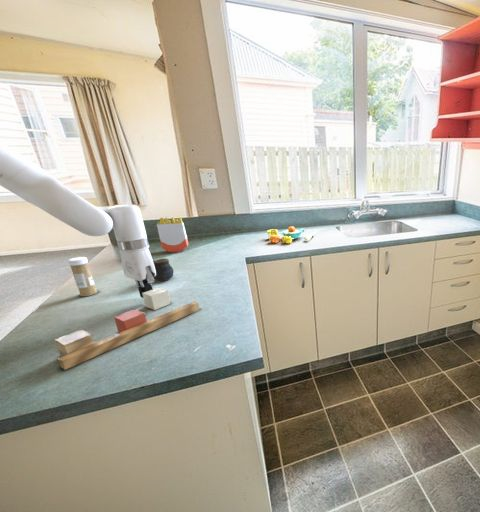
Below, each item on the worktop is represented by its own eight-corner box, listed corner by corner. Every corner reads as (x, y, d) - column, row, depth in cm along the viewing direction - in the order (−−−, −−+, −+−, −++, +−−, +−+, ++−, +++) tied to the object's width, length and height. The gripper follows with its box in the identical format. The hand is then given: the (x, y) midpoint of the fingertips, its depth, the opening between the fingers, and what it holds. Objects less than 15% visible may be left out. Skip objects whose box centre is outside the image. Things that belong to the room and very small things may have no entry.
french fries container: (165, 250, 155) (157, 216, 150) (189, 248, 159) (182, 215, 154) (163, 253, 151) (155, 218, 146) (188, 250, 155) (181, 217, 150)
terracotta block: (128, 337, 80) (123, 321, 79) (118, 332, 82) (113, 317, 81) (148, 328, 85) (144, 313, 83) (139, 324, 87) (134, 309, 85)
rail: (65, 369, 68) (61, 360, 67) (61, 367, 69) (57, 358, 68) (199, 309, 95) (198, 302, 95) (195, 308, 96) (194, 301, 95)
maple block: (70, 363, 70) (63, 345, 68) (61, 357, 72) (54, 339, 71) (97, 351, 74) (91, 334, 73) (87, 346, 76) (81, 329, 75)
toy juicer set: (266, 245, 166) (265, 232, 164) (268, 237, 183) (267, 225, 180) (318, 242, 175) (317, 229, 172) (315, 235, 191) (314, 223, 189)
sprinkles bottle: (100, 292, 107) (89, 257, 103) (85, 297, 103) (73, 261, 98) (91, 290, 108) (80, 255, 104) (76, 295, 104) (64, 259, 100)
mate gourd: (174, 280, 118) (169, 256, 115) (150, 284, 114) (144, 259, 111) (175, 274, 124) (170, 251, 121) (153, 277, 120) (147, 254, 117)
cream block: (154, 310, 95) (151, 296, 93) (145, 306, 97) (142, 293, 95) (171, 303, 99) (167, 290, 98) (162, 300, 101) (158, 287, 100)
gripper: (106, 244, 94) (122, 296, 99) (133, 250, 88) (148, 305, 93) (134, 238, 100) (147, 288, 106) (160, 244, 94) (172, 296, 100)
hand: (147, 296), depth 100 cm, fingers closed
